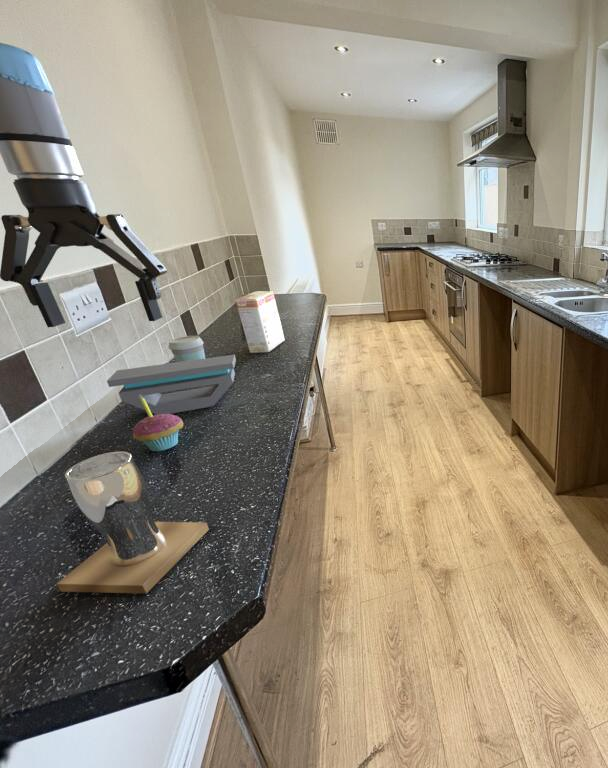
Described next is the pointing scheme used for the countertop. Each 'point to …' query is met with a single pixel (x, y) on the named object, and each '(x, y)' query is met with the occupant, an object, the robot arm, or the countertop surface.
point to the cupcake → (157, 430)
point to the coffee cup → (187, 348)
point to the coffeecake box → (260, 321)
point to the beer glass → (117, 505)
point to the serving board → (139, 576)
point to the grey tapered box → (176, 384)
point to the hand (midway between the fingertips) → (107, 322)
